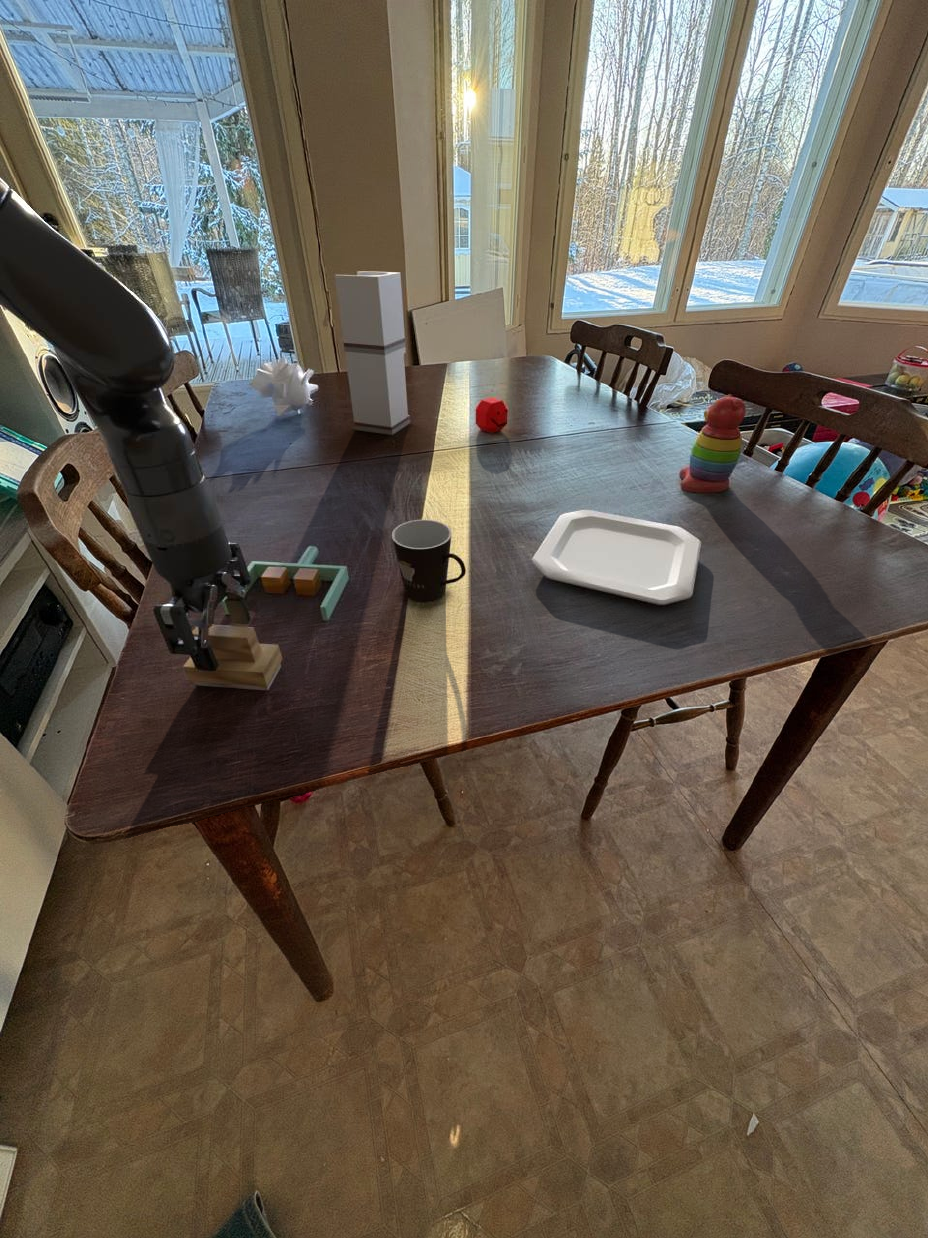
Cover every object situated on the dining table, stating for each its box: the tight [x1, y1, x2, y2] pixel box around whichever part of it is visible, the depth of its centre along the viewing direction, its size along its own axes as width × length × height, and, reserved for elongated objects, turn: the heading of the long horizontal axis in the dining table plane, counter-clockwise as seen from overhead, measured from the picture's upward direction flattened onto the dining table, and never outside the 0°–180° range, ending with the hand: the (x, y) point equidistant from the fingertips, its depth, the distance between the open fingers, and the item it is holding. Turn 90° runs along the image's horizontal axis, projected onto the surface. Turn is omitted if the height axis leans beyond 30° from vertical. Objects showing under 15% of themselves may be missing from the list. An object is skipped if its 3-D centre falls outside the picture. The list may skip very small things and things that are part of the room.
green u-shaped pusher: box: [220, 545, 350, 621], centre depth 80 cm, size 17×16×2 cm
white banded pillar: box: [334, 270, 411, 436], centre depth 130 cm, size 11×11×35 cm
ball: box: [475, 397, 509, 434], centre depth 136 cm, size 8×8×8 cm
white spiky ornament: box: [249, 355, 319, 417], centre depth 147 cm, size 20×17×15 cm
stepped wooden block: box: [182, 624, 284, 691], centre depth 63 cm, size 10×5×8 cm, turn 84°
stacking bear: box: [678, 393, 747, 494], centre depth 105 cm, size 11×10×18 cm
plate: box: [531, 509, 702, 606], centre depth 86 cm, size 25×25×2 cm
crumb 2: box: [292, 568, 323, 597], centre depth 79 cm, size 3×3×3 cm
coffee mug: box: [391, 519, 467, 603], centre depth 76 cm, size 12×9×10 cm
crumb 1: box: [260, 567, 292, 595], centre depth 79 cm, size 3×3×3 cm
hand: (226, 644), depth 62 cm, fingers open, 8 cm apart
